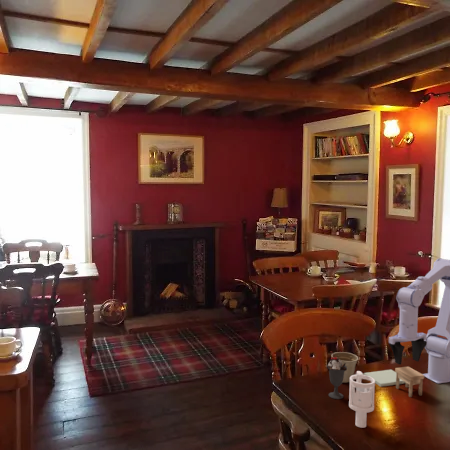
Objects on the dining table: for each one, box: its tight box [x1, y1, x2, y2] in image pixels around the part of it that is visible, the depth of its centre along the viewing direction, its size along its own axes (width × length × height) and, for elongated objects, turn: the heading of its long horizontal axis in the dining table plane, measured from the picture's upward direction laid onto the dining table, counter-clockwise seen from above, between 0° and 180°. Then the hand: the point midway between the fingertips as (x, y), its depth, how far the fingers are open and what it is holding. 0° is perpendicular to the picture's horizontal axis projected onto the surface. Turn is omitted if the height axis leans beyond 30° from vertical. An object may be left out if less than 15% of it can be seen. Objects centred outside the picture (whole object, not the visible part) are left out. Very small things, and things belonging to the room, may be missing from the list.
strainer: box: [348, 370, 376, 429], centre depth 133 cm, size 7×7×15 cm
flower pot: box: [331, 351, 359, 384], centre depth 166 cm, size 9×9×9 cm
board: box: [363, 369, 406, 388], centre depth 167 cm, size 12×10×1 cm
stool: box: [394, 366, 425, 398], centre depth 157 cm, size 5×8×7 cm
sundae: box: [326, 351, 347, 400], centre depth 152 cm, size 7×7×15 cm
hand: (407, 361), depth 156 cm, fingers open, 7 cm apart
